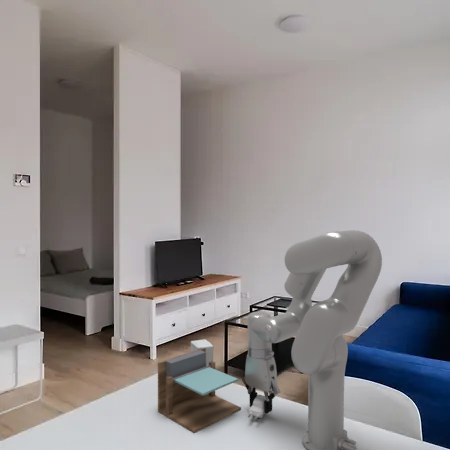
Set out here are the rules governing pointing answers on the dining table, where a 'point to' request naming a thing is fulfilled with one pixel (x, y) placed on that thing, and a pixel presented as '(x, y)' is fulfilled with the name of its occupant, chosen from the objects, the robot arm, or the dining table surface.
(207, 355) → the skincare box
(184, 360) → the flap
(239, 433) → the dining table surface
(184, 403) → the stand
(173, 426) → the dining table surface
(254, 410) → the power adapter
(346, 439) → the robot arm
